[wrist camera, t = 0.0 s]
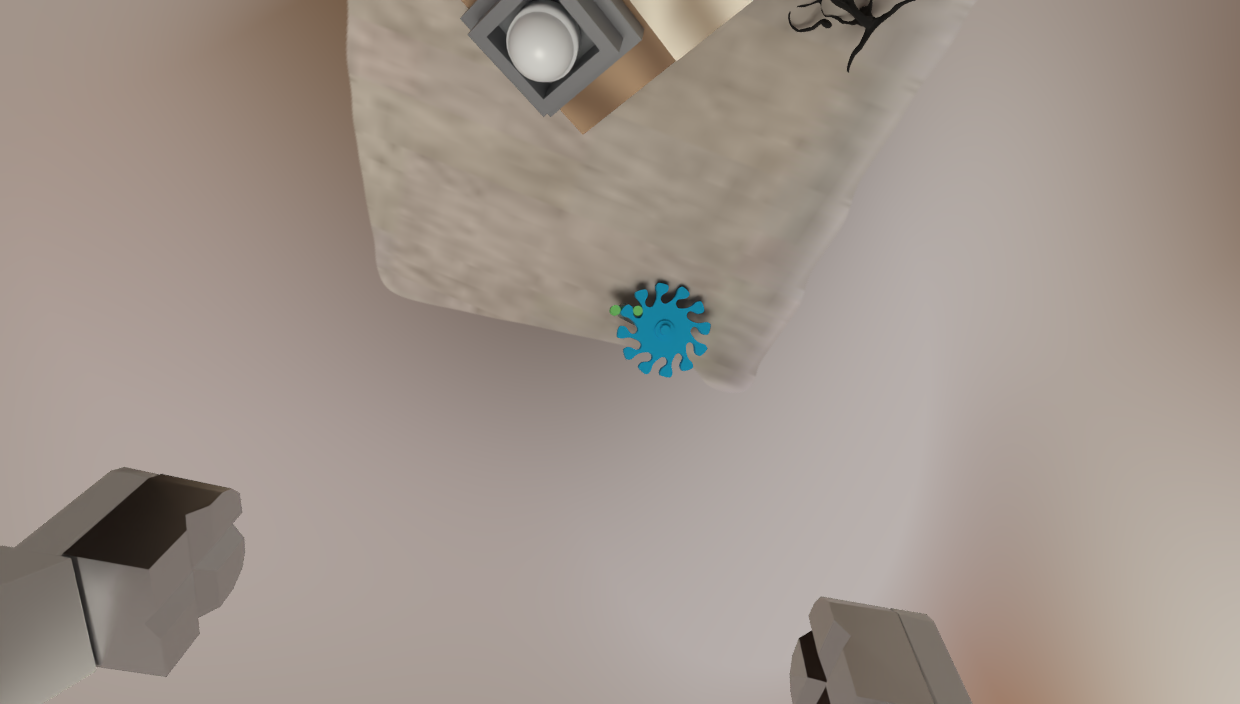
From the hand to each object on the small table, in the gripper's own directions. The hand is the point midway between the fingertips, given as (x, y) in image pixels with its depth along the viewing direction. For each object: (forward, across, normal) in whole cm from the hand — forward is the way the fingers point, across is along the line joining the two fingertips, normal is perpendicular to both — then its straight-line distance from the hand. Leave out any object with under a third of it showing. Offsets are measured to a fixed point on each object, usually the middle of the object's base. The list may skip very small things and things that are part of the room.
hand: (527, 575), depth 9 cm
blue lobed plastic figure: (+62, -6, +20) cm, 65 cm away
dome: (+49, +8, -5) cm, 50 cm away
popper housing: (+53, +8, -6) cm, 54 cm away
